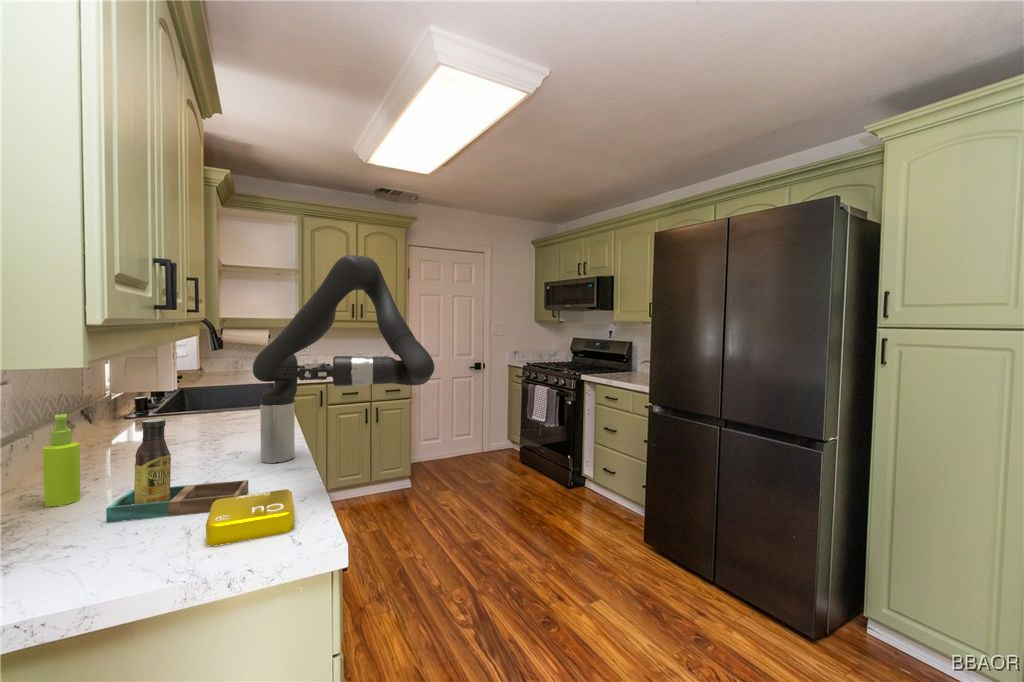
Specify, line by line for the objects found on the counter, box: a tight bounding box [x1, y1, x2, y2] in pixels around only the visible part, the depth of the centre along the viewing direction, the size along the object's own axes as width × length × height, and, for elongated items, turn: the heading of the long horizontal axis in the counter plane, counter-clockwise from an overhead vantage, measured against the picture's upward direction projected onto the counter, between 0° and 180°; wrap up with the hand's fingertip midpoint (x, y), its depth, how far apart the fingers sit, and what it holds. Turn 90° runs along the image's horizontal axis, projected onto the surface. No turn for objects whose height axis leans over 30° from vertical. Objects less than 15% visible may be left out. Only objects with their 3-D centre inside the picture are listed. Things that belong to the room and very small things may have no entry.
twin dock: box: [105, 479, 249, 523], centre depth 101 cm, size 11×24×3 cm, turn 109°
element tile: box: [205, 489, 295, 547], centre depth 93 cm, size 15×15×5 cm
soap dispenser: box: [42, 413, 82, 507], centre depth 103 cm, size 6×7×20 cm
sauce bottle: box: [133, 418, 172, 504], centre depth 99 cm, size 6×6×20 cm
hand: (282, 371), depth 108 cm, fingers open, 8 cm apart
